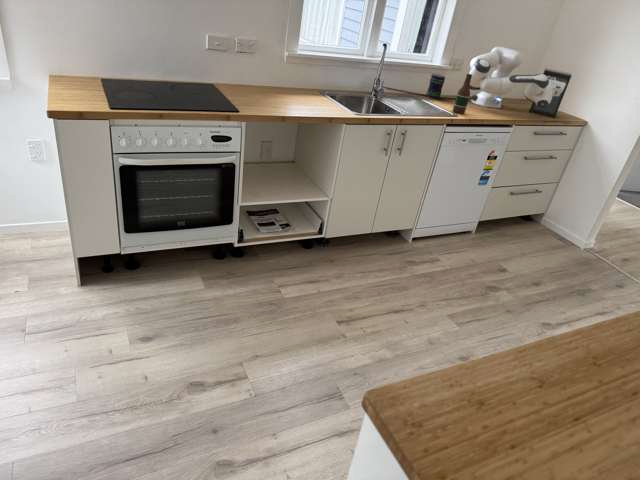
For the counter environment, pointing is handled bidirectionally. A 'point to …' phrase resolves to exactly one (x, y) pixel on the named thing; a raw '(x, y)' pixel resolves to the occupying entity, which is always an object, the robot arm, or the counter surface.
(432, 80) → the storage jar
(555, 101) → the glass door
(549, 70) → the display cabinet
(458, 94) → the beer bottle
